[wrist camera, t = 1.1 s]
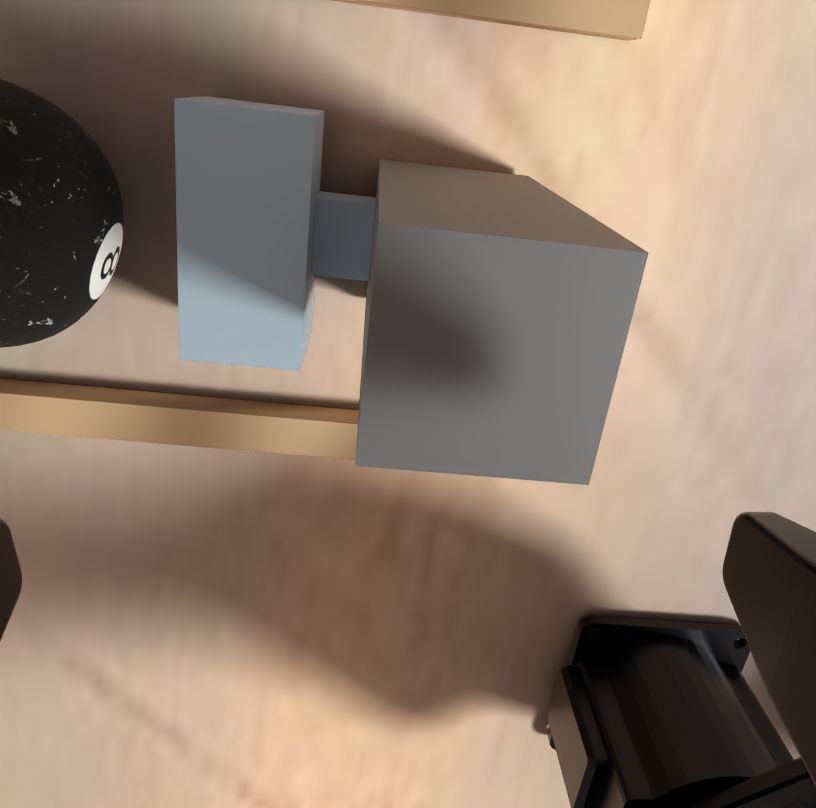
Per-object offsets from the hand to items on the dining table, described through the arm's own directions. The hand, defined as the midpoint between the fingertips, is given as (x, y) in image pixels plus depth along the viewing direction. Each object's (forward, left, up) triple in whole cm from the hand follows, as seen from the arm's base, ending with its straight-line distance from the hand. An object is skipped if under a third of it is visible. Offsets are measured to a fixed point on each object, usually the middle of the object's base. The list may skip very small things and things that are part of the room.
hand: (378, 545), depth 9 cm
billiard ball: (+9, -1, -13) cm, 16 cm away
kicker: (+1, -1, -12) cm, 12 cm away
